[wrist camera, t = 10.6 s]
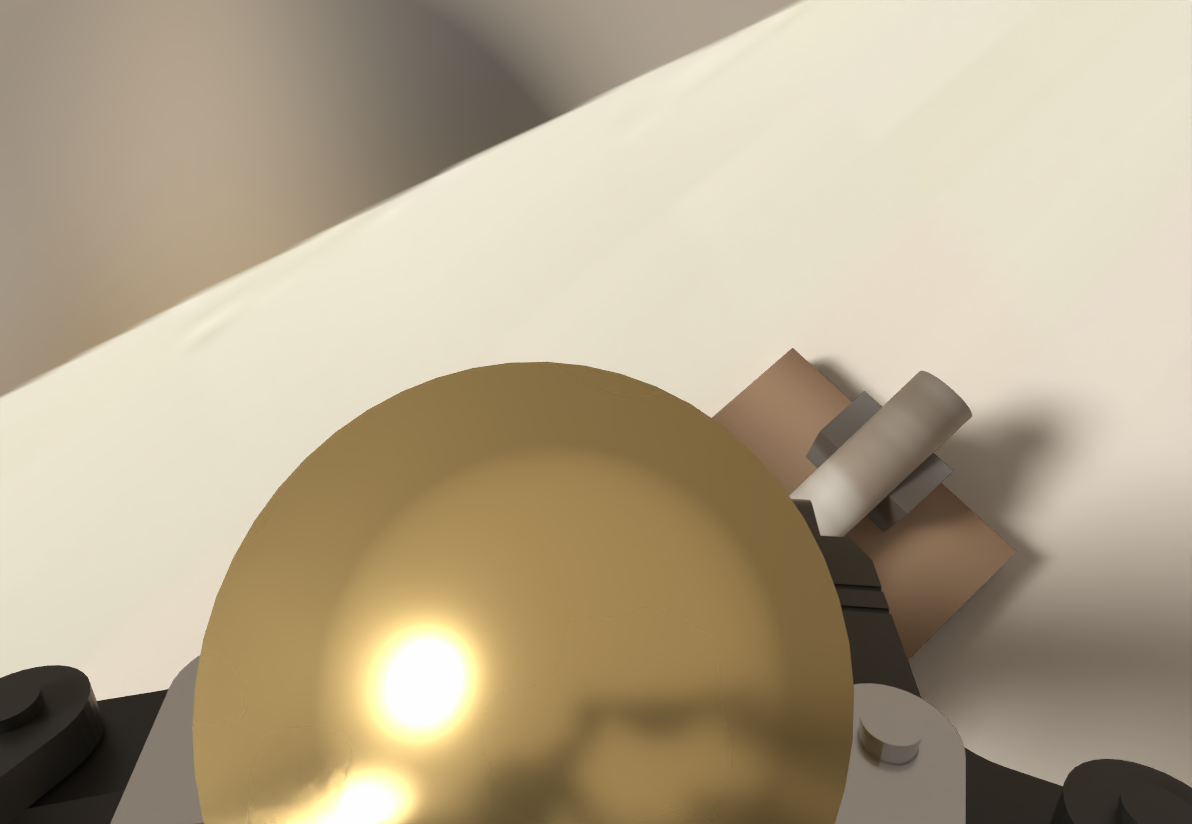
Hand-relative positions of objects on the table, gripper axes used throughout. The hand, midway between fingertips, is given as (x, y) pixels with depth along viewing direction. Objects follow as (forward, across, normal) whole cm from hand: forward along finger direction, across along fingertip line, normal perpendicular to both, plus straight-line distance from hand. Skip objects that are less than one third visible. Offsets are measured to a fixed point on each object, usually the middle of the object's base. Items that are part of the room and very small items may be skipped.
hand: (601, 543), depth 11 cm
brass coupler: (+1, 0, +4) cm, 5 cm away
